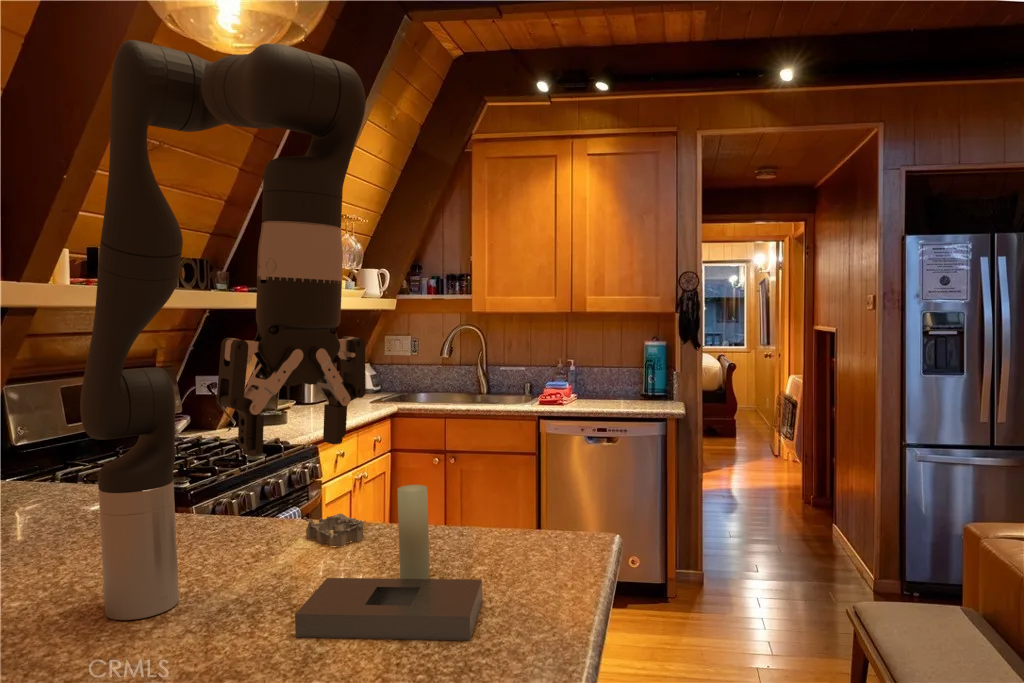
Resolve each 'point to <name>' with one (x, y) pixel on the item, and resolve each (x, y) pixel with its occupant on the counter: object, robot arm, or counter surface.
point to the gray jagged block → (335, 530)
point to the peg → (413, 532)
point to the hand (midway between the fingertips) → (294, 448)
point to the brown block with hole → (391, 609)
